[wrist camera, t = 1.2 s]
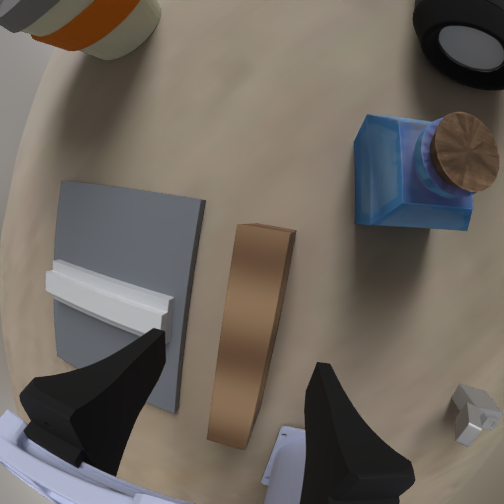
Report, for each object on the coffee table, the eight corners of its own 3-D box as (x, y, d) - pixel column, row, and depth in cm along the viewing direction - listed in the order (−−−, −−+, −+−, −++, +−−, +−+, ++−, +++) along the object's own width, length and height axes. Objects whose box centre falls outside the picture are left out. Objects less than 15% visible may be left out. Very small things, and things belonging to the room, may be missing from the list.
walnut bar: (260, 407, 24) (245, 450, 19) (228, 399, 25) (206, 439, 19) (296, 230, 22) (289, 233, 16) (257, 223, 23) (237, 224, 17)
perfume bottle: (354, 223, 21) (399, 228, 9) (353, 141, 20) (388, 66, 9) (430, 227, 20) (525, 237, 8) (428, 148, 19) (511, 95, 7)
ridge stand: (178, 408, 26) (165, 424, 23) (62, 353, 29) (46, 362, 26) (205, 200, 23) (190, 197, 20) (68, 181, 26) (47, 178, 23)
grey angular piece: (486, 391, 19) (521, 435, 12) (476, 405, 20) (508, 451, 12) (438, 376, 21) (472, 428, 13) (428, 392, 21) (457, 446, 13)
